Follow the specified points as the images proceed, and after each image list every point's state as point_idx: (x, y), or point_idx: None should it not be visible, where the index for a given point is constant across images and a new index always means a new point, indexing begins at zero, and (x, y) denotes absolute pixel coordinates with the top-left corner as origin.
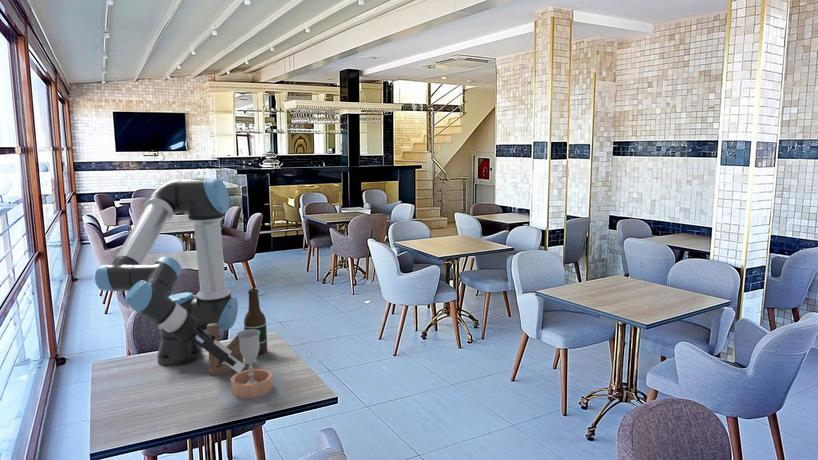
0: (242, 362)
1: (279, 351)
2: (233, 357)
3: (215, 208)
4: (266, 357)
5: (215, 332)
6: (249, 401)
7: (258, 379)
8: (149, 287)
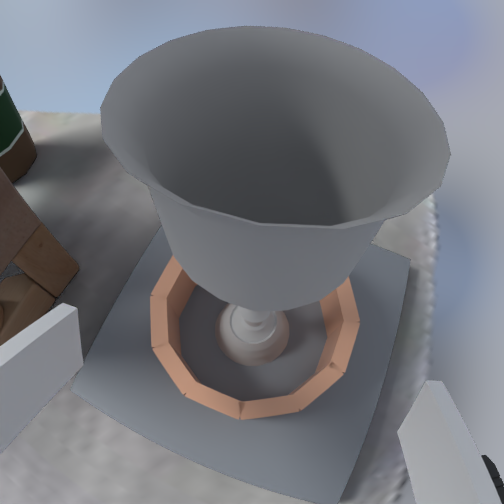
0: (56, 241)
1: (63, 126)
2: (487, 472)
3: None
4: (54, 159)
5: None
6: (354, 394)
7: None
8: None
